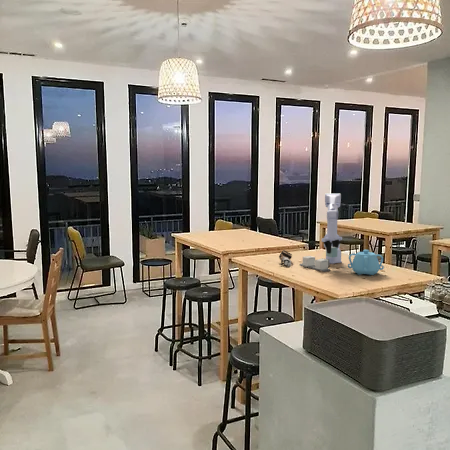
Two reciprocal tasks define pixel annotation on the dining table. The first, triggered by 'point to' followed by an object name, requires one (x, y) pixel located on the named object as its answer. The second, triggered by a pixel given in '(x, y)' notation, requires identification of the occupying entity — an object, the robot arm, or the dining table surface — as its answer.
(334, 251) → the block
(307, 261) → the mounted module
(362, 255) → the decorative pot
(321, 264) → the block
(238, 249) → the dining table surface
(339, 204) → the robot arm
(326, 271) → the rail
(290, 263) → the figurine
